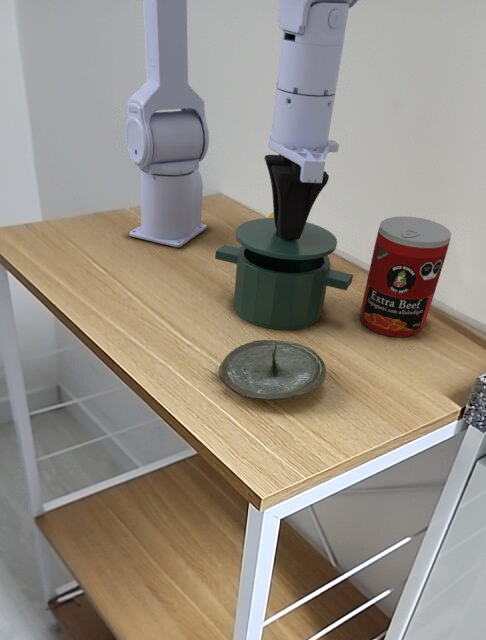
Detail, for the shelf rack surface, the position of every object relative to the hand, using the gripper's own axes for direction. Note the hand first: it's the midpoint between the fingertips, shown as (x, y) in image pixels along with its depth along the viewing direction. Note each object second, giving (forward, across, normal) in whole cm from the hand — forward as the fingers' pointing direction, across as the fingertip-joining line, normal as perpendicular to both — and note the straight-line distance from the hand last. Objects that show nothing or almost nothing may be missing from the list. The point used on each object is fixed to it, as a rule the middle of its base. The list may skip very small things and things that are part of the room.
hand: (287, 232), depth 70 cm
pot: (+9, 0, 0) cm, 9 cm away
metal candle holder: (+9, -16, +4) cm, 19 cm away
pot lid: (+1, 0, 0) cm, 1 cm away
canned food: (+9, -3, -13) cm, 16 cm away
